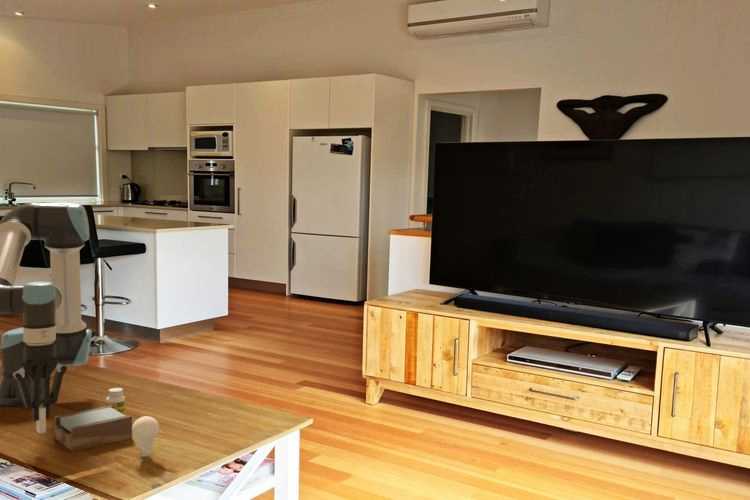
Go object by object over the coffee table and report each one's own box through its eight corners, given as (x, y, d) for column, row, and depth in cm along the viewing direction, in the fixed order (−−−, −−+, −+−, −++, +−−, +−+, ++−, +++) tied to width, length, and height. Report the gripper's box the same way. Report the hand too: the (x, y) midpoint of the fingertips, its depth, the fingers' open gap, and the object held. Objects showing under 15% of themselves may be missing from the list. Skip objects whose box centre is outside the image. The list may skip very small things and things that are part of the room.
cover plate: (60, 424, 185) (60, 417, 185) (110, 413, 195) (110, 407, 195) (74, 434, 179) (74, 427, 178) (125, 422, 188) (125, 415, 188)
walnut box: (54, 441, 186) (54, 416, 186) (111, 428, 198) (111, 405, 197) (73, 455, 177) (72, 429, 177) (132, 441, 188) (131, 416, 188)
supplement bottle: (118, 425, 200) (118, 392, 200) (101, 423, 201) (101, 391, 201) (128, 419, 206) (128, 387, 205) (112, 417, 207) (112, 386, 206)
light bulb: (135, 453, 180) (135, 412, 179) (161, 452, 181) (161, 412, 180) (128, 463, 173) (128, 421, 173) (155, 462, 174) (155, 421, 173)
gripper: (17, 348, 168) (19, 441, 170) (71, 341, 177) (72, 429, 179) (7, 343, 173) (9, 433, 175) (60, 336, 183) (61, 422, 185)
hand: (41, 431), depth 177 cm, fingers closed
